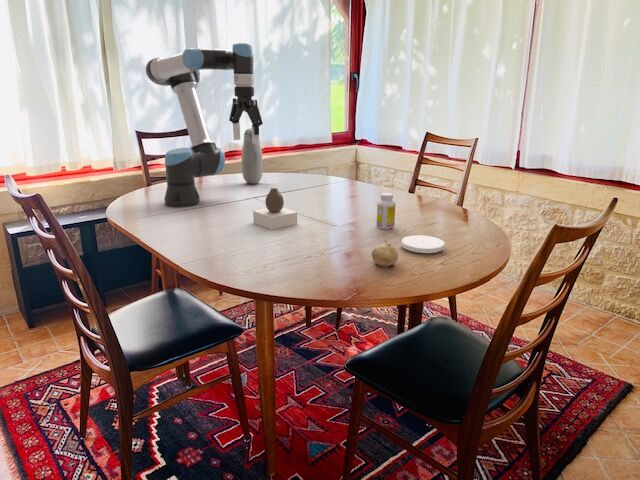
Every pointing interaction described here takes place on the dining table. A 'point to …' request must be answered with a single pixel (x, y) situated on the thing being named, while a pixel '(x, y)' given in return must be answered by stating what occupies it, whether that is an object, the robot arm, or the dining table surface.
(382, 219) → the supplement bottle
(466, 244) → the dining table surface
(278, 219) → the riser block
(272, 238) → the dining table surface
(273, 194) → the vase
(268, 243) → the dining table surface
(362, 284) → the dining table surface
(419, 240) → the plastic lid
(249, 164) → the grey-green rounded cylinder
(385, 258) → the onion
